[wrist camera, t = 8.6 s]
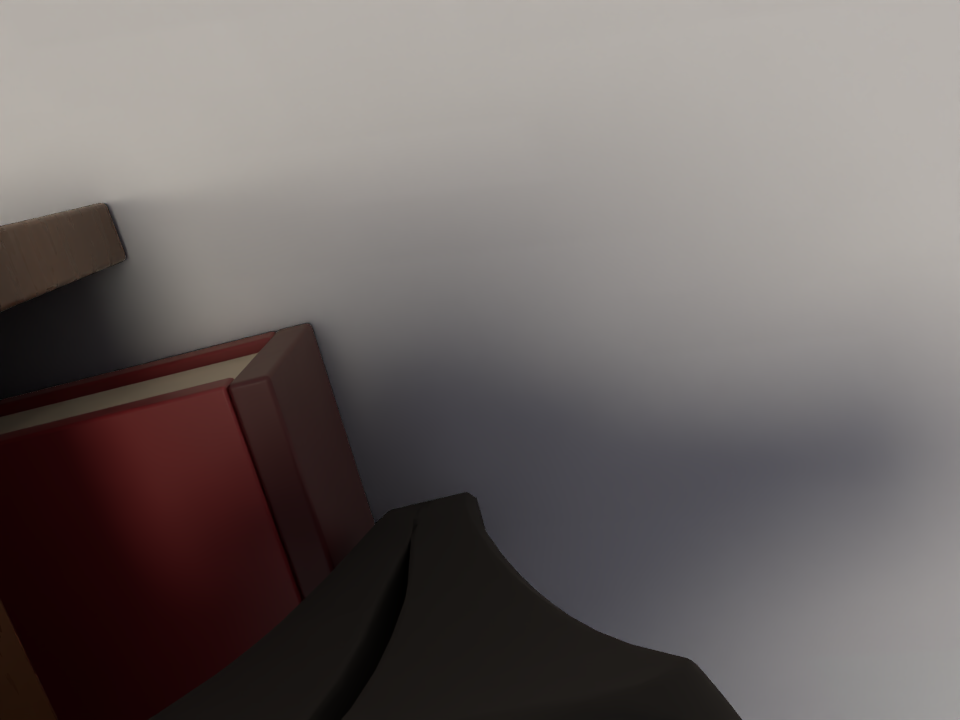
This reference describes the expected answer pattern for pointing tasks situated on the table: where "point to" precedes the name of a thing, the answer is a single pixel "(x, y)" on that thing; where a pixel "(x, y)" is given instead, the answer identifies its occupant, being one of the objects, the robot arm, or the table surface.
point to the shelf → (9, 282)
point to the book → (170, 517)
